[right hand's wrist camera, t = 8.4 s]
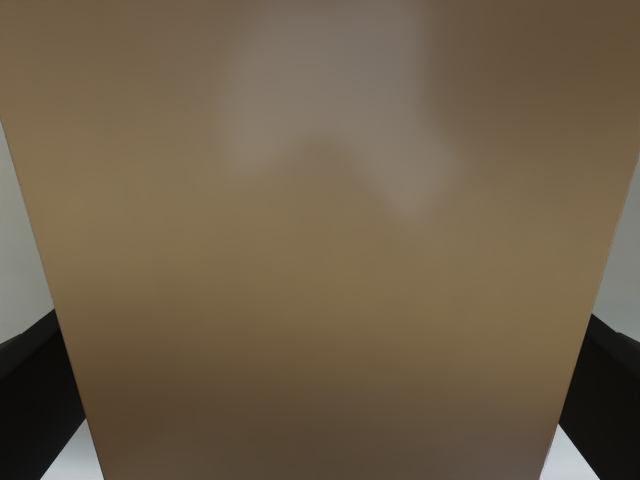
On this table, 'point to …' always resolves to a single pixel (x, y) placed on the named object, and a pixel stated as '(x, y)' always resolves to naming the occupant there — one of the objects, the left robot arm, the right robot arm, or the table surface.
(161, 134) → the box
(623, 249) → the table surface
